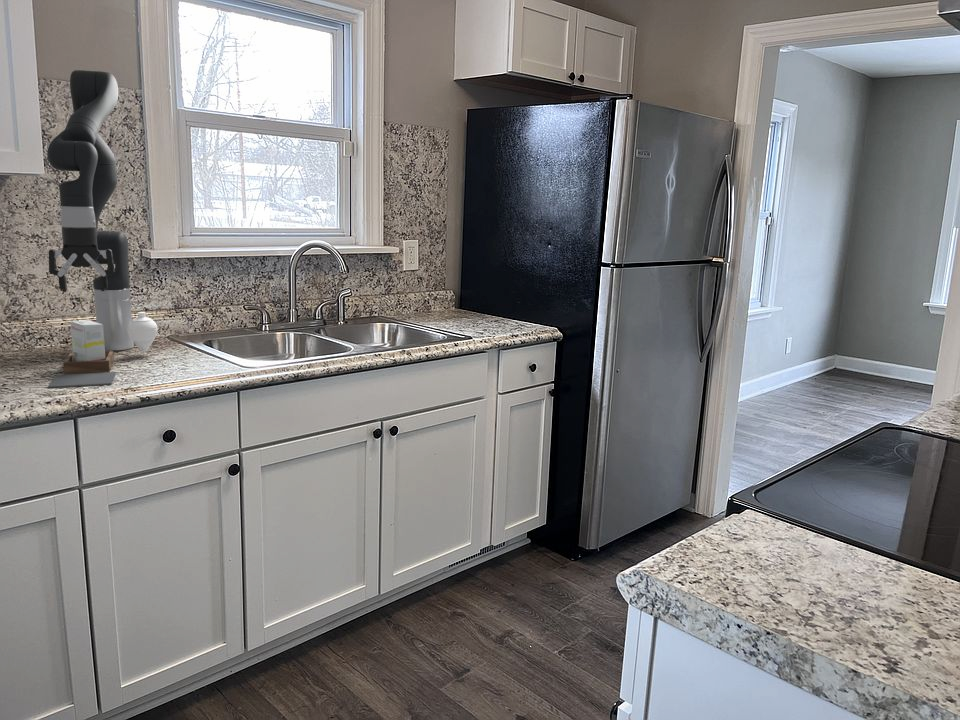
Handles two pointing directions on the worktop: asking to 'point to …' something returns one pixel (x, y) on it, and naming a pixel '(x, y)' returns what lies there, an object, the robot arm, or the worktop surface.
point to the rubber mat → (82, 379)
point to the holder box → (88, 365)
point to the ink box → (87, 341)
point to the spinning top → (142, 331)
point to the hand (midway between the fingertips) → (84, 291)
